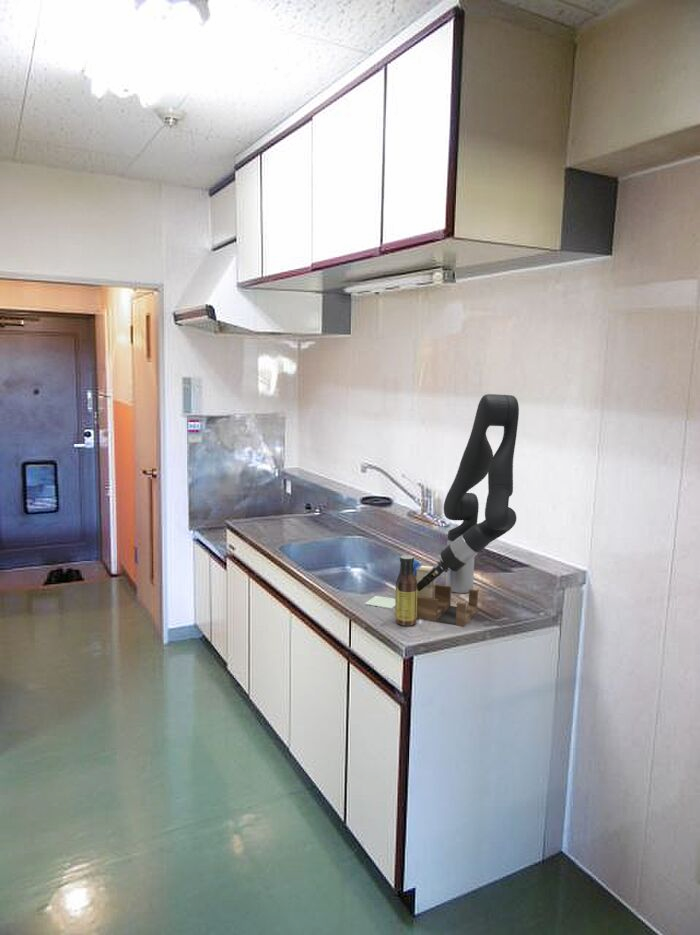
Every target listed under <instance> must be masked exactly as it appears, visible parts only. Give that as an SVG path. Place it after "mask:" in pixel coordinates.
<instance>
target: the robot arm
mask: <svg viewBox="0 0 700 935" xmlns="http://www.w3.org/2000/svg"><path fill="white" fill-rule="evenodd" d="M519 407H520V406H519V401H518V398H516V397H515V396H514V395H512V394H511V395H510V394H494V393H490V394H489V393H488V394H484V395H482V397H481V399H480V400H479V402H478V405H477V408H476V412H475V416H474V420H473V421H474V422H473V425H472V429H471V432H470V435H469V438H468V441H467V444H466V447H465V449H464V451H463V454H462V457H461V459H460V463H459V466H458V469H457V472H456V475H455V477H454V479H453V481H452V484H451V486H450V488H449V490H448V491H447V494H446V495H445V499H444V503H443V514H444V517H445V518H446V519H447V520H449V521H462V523H460V525H458V526H456V527H453V528H452V529H450V530H448V531H447V543H446V547H445V548H444V549H443V550H441V551H440V553H439V554H440V559H441V560H439V561H437V563H435V564H434V566H432V567H433V568H432V569H431V570H429V571H428V574H427V575H426V576H424V577H423V579H422V580H421V581H420V582H418V583H417V590H418V591H420V590H422V589H423V588H424V587H425V586H426V585H428V584H430V583H431V582H432V581H433V580H436V581H437V580H438V579H439V578H441V577H442V576H444V575H445V586H451V593H457V594H458V593H459V594H466V593H467V594H469V590H470V589H472V590H474V571H475V557H476V556H477V555H478V554H479V553H480V552H481V551H482V550H484V549H485V548H486V547H487V546H488V545H489V544H491V543H492V542H494V541H495V540H497V539H498V538H501V536H503V535H504V534H506V533H507V532H509V531H510V530H511V529H512V528H514V527H515V524H516V522H517V514H516V512H515V510H514V509H513V508H511V507H509V501H510V497H511V496H512V495H513V493H514V492H513V491H514V456H515V450H516V441H517V433H518V426H519V425H518V424H519V415H520V408H519ZM489 427H503V435H502V439H501V443H500V444H499V446H498V448H497V450H496V451H495V453H494V452H493V449H492V446H491V444H490V442H489V440H488V436H487V430H488V428H489ZM487 475H488V476H487ZM486 477H487V484H488V485H487V486H488V487H487V489H488V493H487V497H486V502H485V508H484V518H485V519H484V520H483V521H481V522H479V523H478V517H479V504H480V503H479V500H478V499H479V498H478V497H477V496H478V495H477V494H475V493H473V492H469V491H470V490H471V489H473V488H474V487H475V486H476V485H478V484H479V483H480V482H482V481H483V480H484V479H485V478H486ZM427 577H429V578H430V581H429V579H428V578H427Z"/></svg>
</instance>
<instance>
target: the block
mask: <svg viewBox="0 0 700 935" xmlns="http://www.w3.org/2000/svg"><path fill="white" fill-rule="evenodd" d="M433 567H434V566H429V565H421V567H419V568H418V569H417V583H418V582H420V581H421V580H422V579H423V577H424V576H426V575H427V574H428V571H429V570H431V569H432V568H433ZM427 578H428V579H429V581H430V578H429V577H427ZM436 581H437V580H433V581H432V582H431V583H430V584H428V585H426V586H425V587H424V588H423V589H422V590H420V591H418V590H417V596H421V597H428V598H434V599H435V584H436Z"/></svg>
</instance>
